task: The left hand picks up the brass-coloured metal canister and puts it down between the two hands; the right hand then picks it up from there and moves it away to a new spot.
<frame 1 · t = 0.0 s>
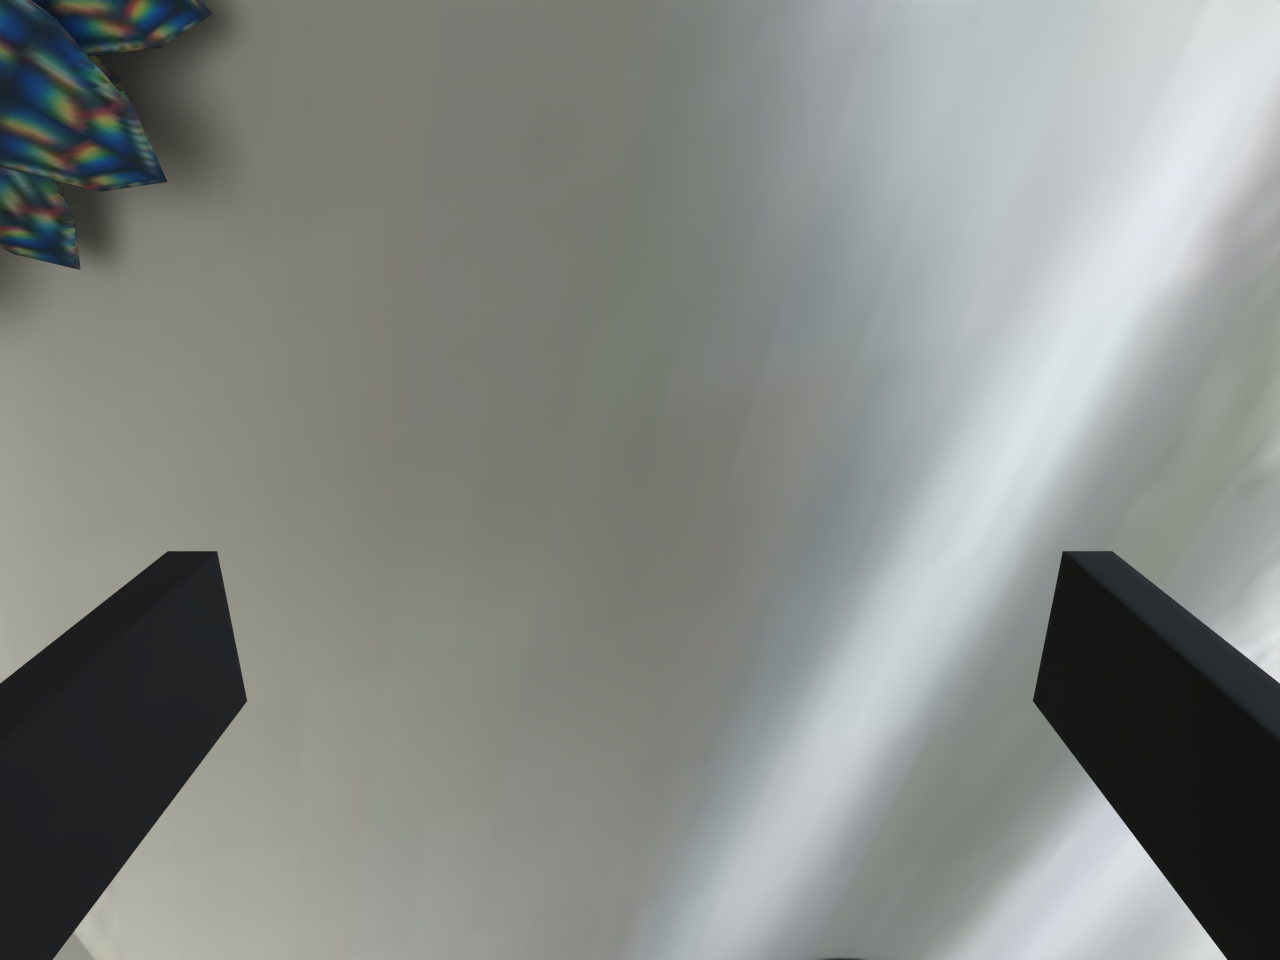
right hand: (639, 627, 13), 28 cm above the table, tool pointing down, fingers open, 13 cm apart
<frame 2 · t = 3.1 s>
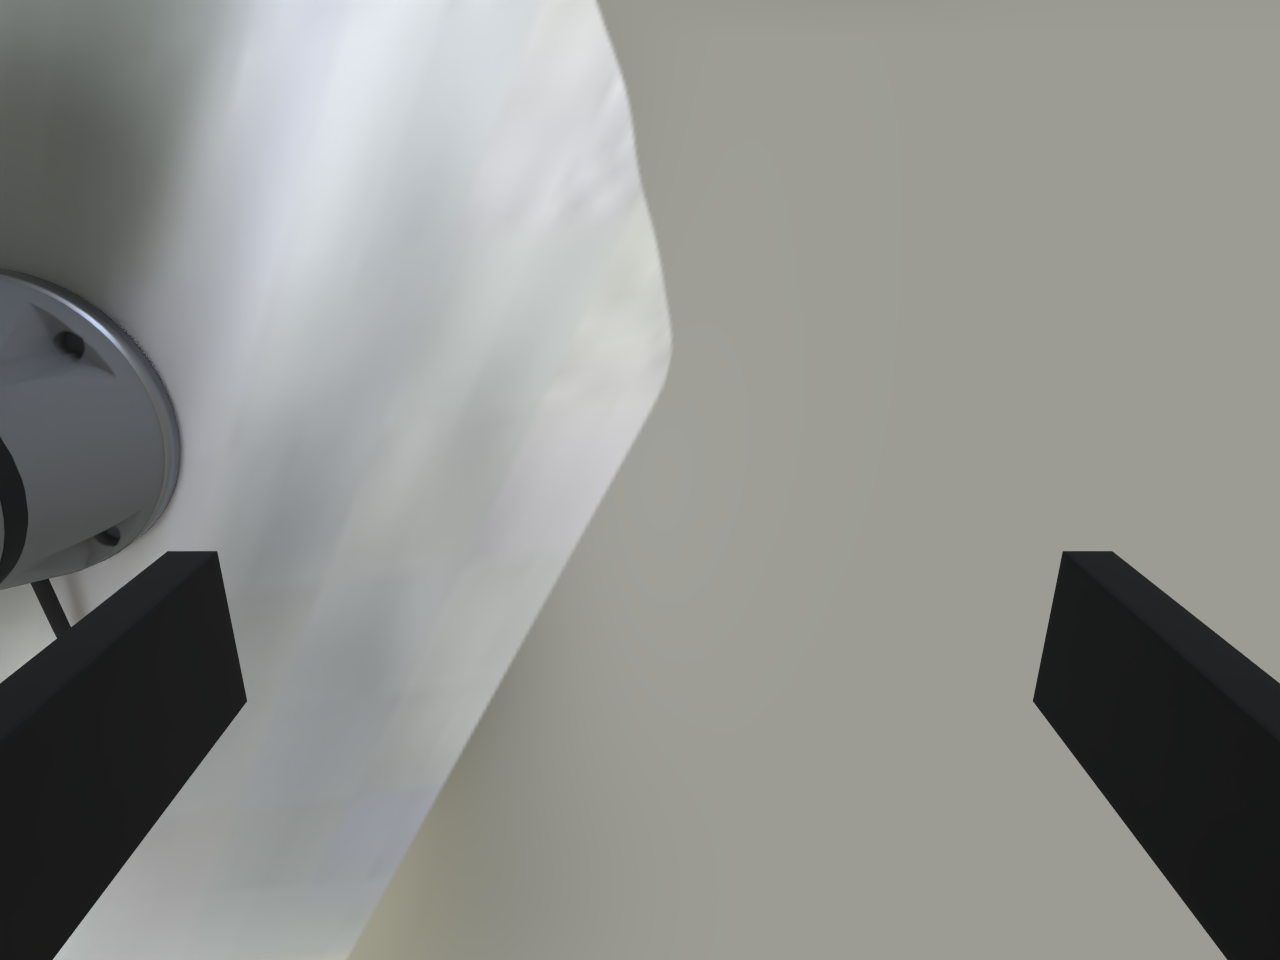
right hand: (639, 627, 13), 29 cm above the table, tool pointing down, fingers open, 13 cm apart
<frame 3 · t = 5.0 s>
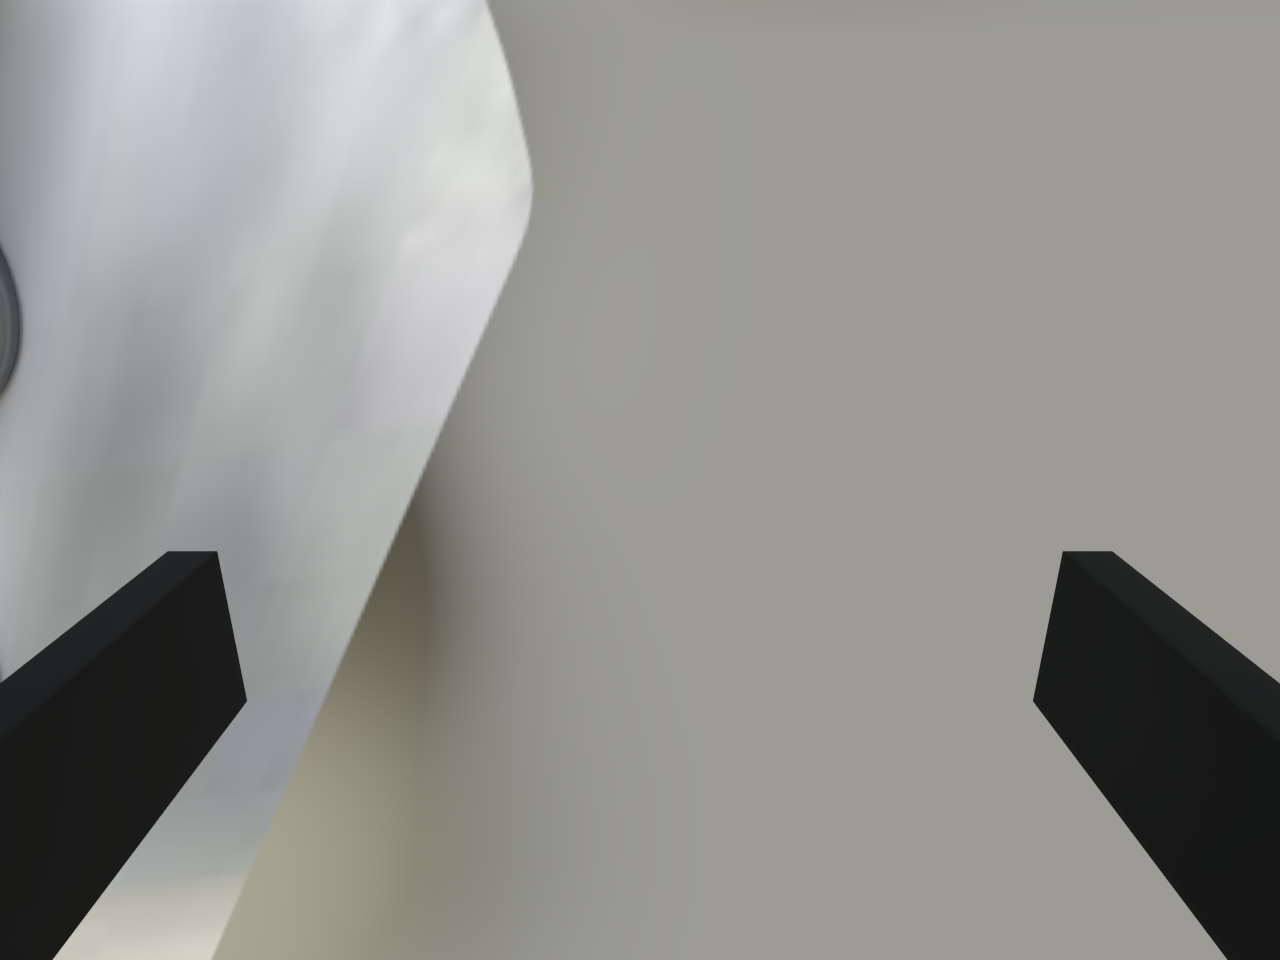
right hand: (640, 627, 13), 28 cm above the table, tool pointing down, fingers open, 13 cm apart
when the left hand's fingers open (5 cm above the table, at t = 6.9 s): canister drops 2 cm, on the table.
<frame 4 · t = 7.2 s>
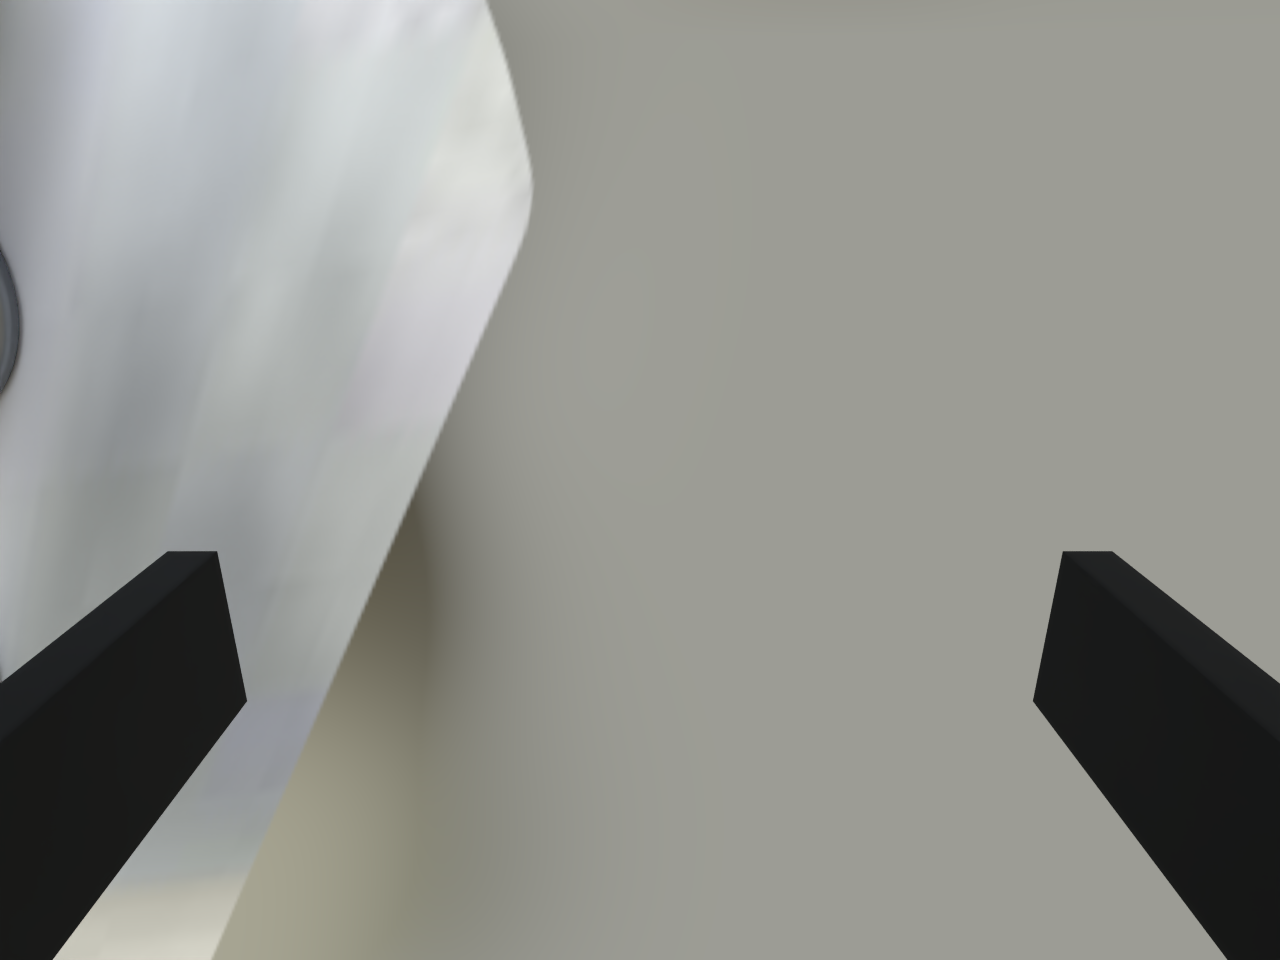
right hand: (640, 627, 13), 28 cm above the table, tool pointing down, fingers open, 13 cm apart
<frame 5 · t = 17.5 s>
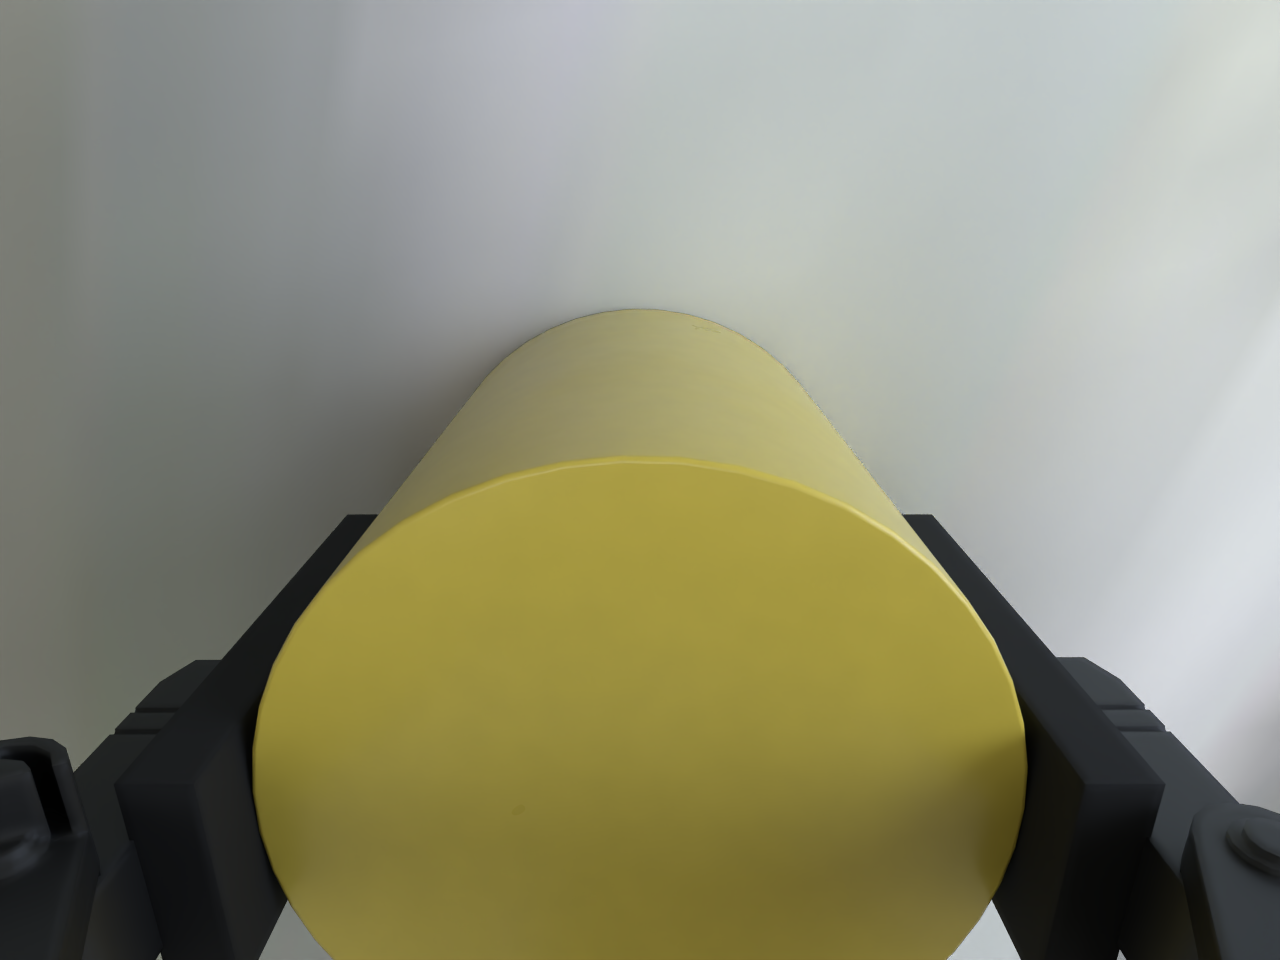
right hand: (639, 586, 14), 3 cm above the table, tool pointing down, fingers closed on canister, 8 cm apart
canister: (639, 507, 17), on the table, touching right hand
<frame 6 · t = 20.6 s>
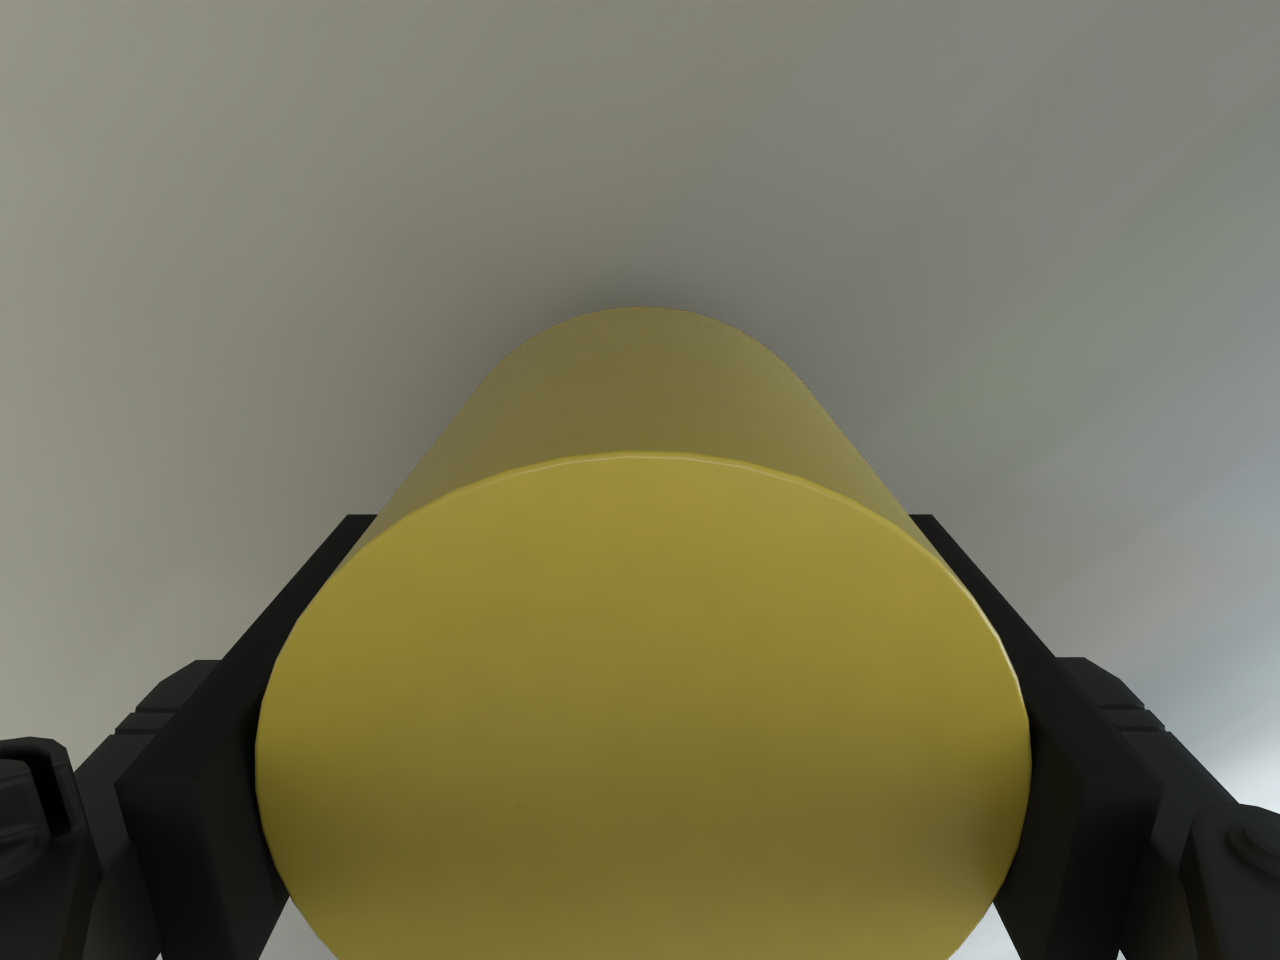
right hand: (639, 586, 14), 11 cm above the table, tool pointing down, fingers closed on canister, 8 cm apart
canister: (641, 505, 17), point 7 cm above the table, touching right hand
when the right hand's fingers open (5 cm above the table, at t = 23.6 s): canister drops 2 cm, on the table.
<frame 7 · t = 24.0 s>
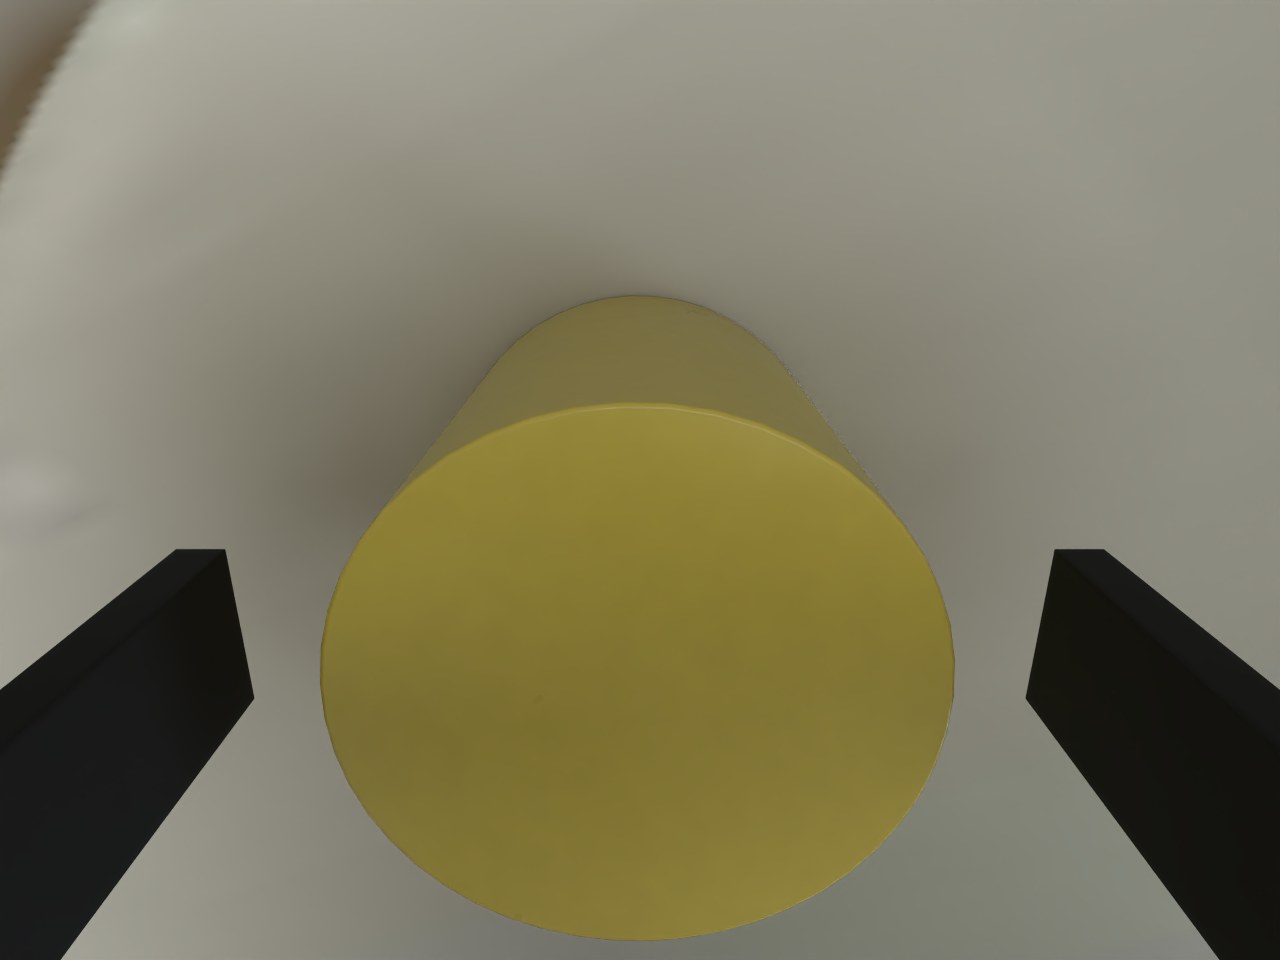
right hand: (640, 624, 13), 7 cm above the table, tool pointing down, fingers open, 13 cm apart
canister: (638, 475, 19), on the table
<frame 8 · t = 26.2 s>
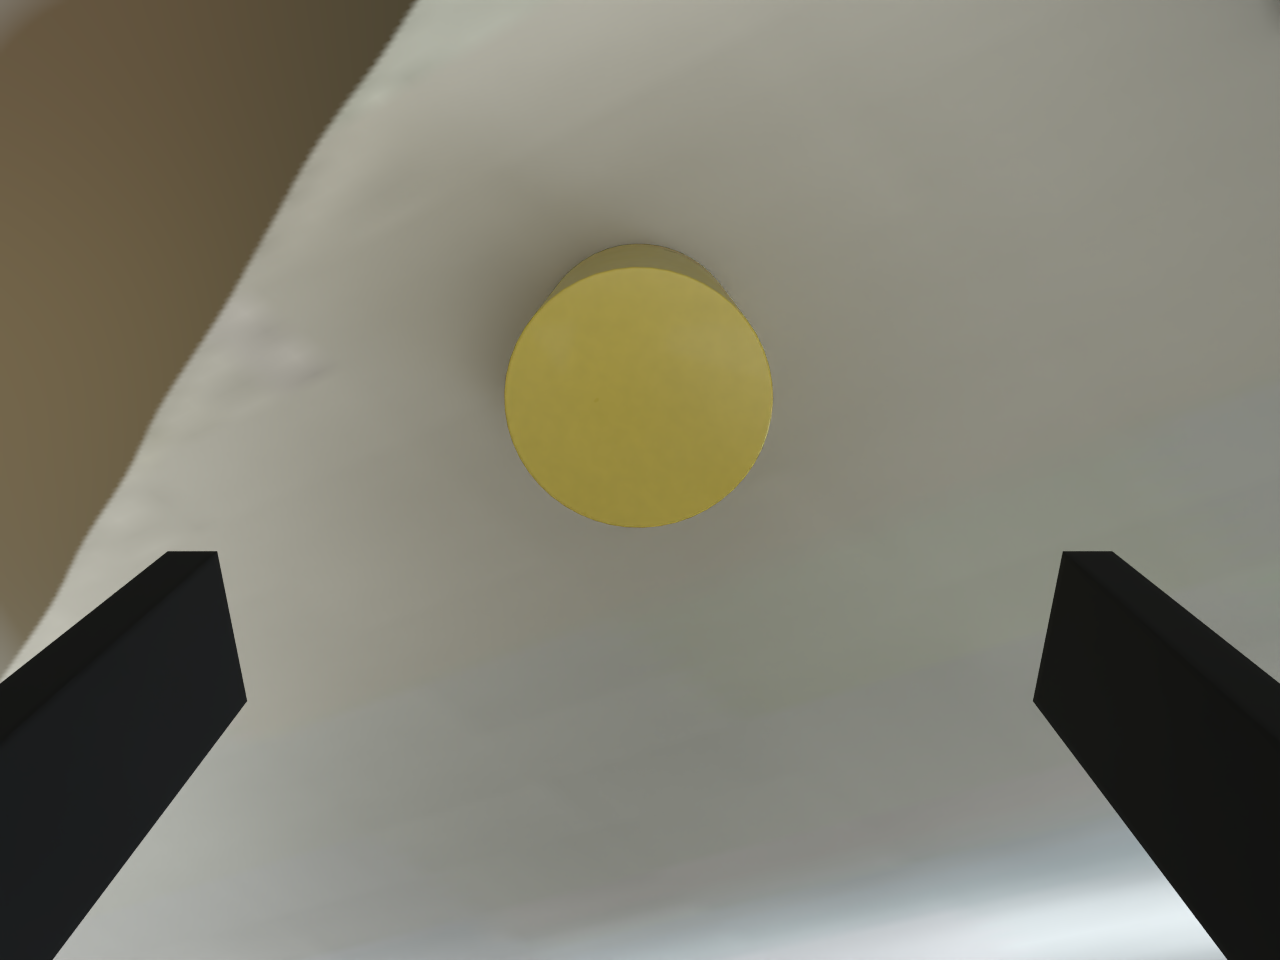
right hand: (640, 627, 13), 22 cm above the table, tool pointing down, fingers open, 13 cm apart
canister: (638, 348, 34), on the table
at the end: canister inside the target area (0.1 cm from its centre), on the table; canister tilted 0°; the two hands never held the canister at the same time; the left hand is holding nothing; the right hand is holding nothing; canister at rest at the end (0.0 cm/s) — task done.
